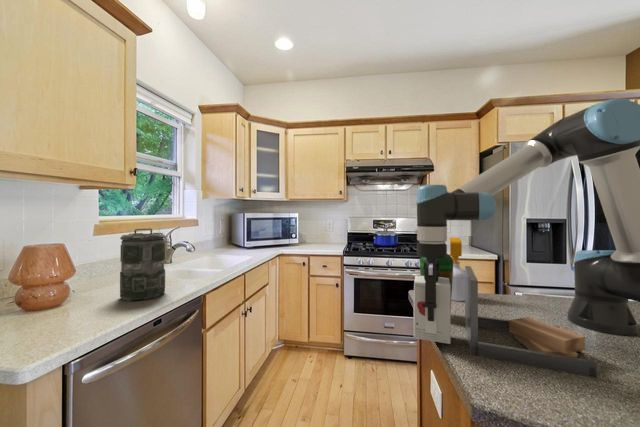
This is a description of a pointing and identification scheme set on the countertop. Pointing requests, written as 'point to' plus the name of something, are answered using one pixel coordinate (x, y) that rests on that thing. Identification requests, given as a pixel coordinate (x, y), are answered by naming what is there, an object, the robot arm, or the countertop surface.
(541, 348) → the offcut lower
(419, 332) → the supplement box
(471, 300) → the stand
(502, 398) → the countertop surface
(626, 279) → the robot arm
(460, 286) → the soap bottle
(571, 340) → the offcut upper
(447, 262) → the bottle
